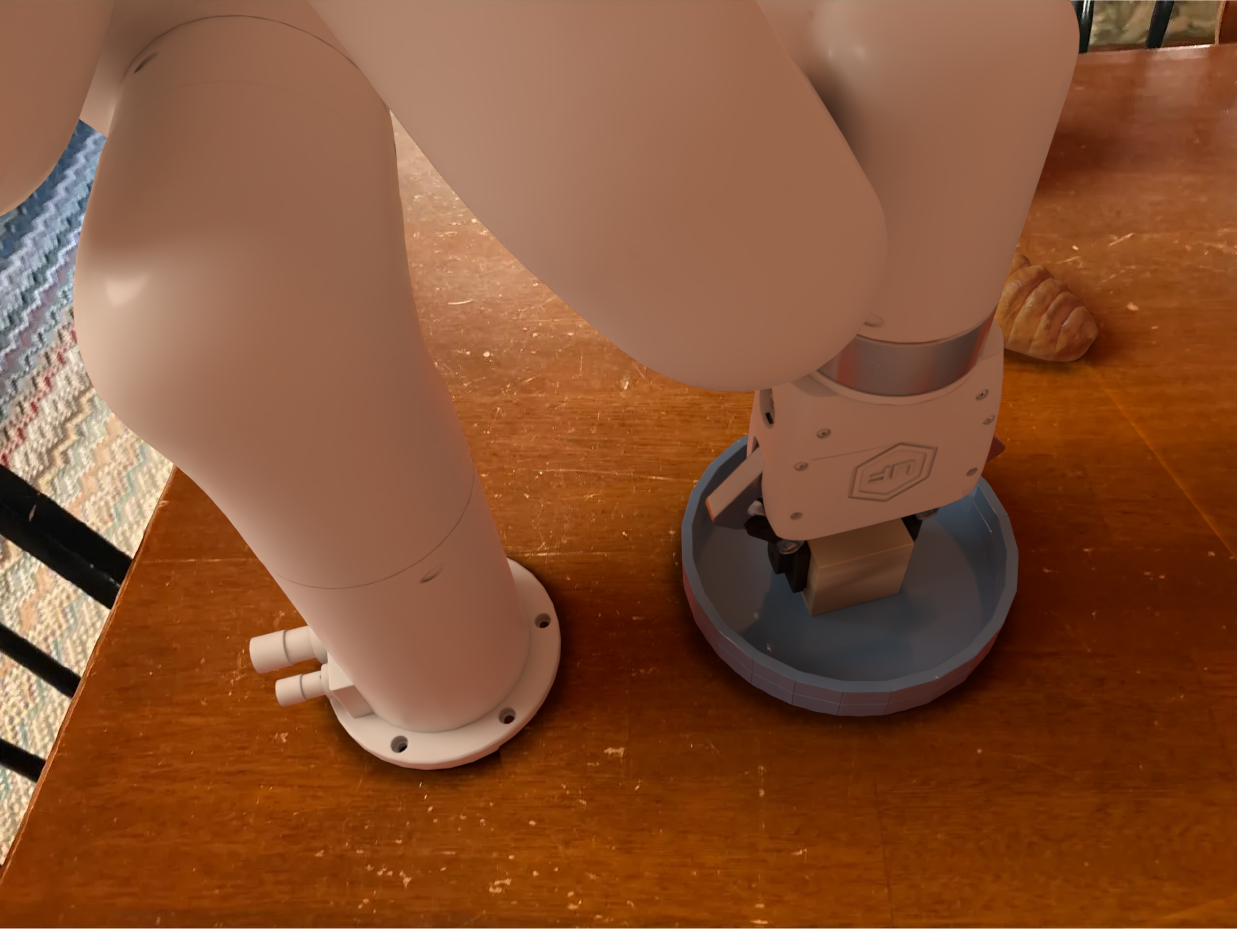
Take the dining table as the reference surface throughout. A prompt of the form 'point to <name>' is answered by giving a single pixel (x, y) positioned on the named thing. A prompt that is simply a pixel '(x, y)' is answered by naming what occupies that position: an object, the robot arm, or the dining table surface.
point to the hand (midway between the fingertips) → (839, 554)
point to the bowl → (853, 608)
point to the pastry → (1042, 315)
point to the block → (856, 566)
